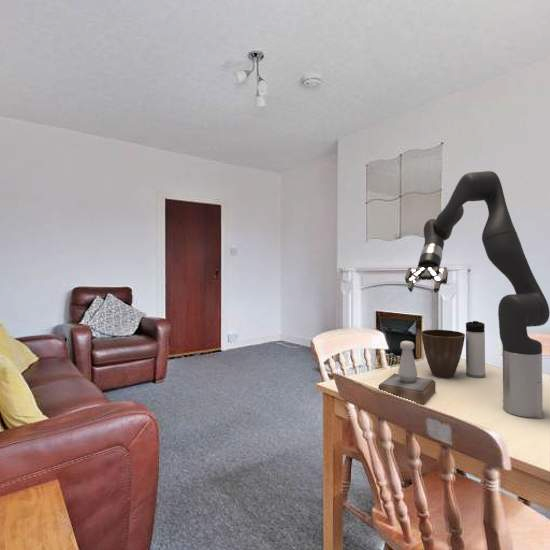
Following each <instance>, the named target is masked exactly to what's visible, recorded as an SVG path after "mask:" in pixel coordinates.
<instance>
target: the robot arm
mask: <svg viewBox="0 0 550 550" xmlns="http://www.w3.org/2000/svg"><path fill="white" fill-rule="evenodd" d="M482 201H484V202H485V204H486V206H487V209H488V210H487V211H488V216H487V219H486V223H485V225H484V228H483V231H482V234H481V240H482V244H483V247H484V248H483V249H484V250H485V253H486V256H487V258H488V260H489V261H490V262H491V263H492V265H494V267H496V269H497V270H498V271H499V272H500V273H502V274H503V275H504V276H505V278H507V279H508V281H509V282H510V283H511V286H512V287H513V289H514V292H515V294H514V293H513V294H506V295H504V296H503V297H502V298H501V299H500V301H499V303H498V313H497V316H498V329H499V338H500V341H501V345H502V409H503V410H504V411H505V412H507V413H508V414H511V415H514V416H519V417H522V418H524V417H525V418H538V419H543V412H544V411H543V410H544V409H543V345H542V342H540V341H539V340H537V339H534V338H531V337H530V336H529V334H528V329H527V328H530V327H531V328H532V327H541V326H544V325H545V324H547V322H548V321H549V319H550V307H549V304H548V301H547V299H546V296H545V294H544V293H543V291H542V289H541V287H540V285H539V283H538V282H537V280H536V277H535V275H534V274H533V272H532V269H531V267H530V265H529V262H528V259H527V257H526V254H525V252H524V250H523V246H522V242H521V239H520V237H519V235H518V233H517V231H516V229H515V226H514V223H513V221H512V218H511V215H510V212H509V209H508V206H507V202H506V198H505V194H504V189H503V186H502V182H501V179H500V178H499V176H498V174H497V173H496V172H494V171H491V170H484V171H474V172H468V173H465V174H464V175H462V176H461V178H460V179H459V180H458V183H457V184H456V185H455V188H454V190H453V192H452V195H451V196H450V198H449V200H448V202H447V204H446V206H444V208H443V209H442V211H440V213H439V214H438V215H437V216H436V219H435V218H431V219H429V220H427V221H426V222H425V224H424V225H423V236H424V237H423V238H424V245H423V247H422V250H421V252H420V256H419V261H418V264H417V267H416V269H413V268H412V267H408V269H407V272H406V274H405V276H404V280H405V281H404V282H405V283H406V284H407V290H408V291H409V292H410V293H412V292H413V291H414V286H415V284H416V283H418V282H420V281H421V280H422V281H432V280H433V281H434V286H433V291H434V293H438V292H439V291H440V288H441V285H442V284H443V285H446V284H447V283H448V275H449V272H448V271H449V270H448V268H447V266H445V267H443V268H440V267H441V264H442V263H441V262H442V261H443V260H442V259H443V250H444V246H445V241H447V240H449V238H450V237H451V235H452V233H453V228H454V227H455V226H456V225H457V224H458V222H459V221H460V220H462V218H463V215H464V212H465V210H464V206H463V205H464V204H466V203H467V202H482ZM440 274H441V278H440V277H439V275H440Z"/></svg>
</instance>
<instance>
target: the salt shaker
mask: <svg viewBox="0 0 550 550" xmlns="http://www.w3.org/2000/svg"><path fill="white" fill-rule="evenodd" d="M399 345H400V349H401V350H402V351H401V357H400V362H399V368H398V372H397V374H399V377H400V379H401V381H402V382H405V383H413V382H415V379H416V377H418V372H417V366H416V361H415V356H414V352H413V350H414V349H415V343H414V342H413V341H410V340H403V341H401V342H400V344H399Z"/></svg>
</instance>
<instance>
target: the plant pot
mask: <svg viewBox="0 0 550 550" xmlns="http://www.w3.org/2000/svg"><path fill="white" fill-rule="evenodd" d="M420 333H421V339H422V345H423V350H424V354H425V357H426V360H427V361H426V362H427V364H428V367H429V370H430V373H431V375H432V376H433V377H437V378H441V379H442V378H443V379H450V378H453V377H454V376H455V375H456V374H455V373H456V372H457V368H458V366H459V363H460V359H461V357H462V354H463V353H462V352H463V349H464V344H465V339H466V333H463V332H461V331H460V332H459V331H456V330H449V329H448V330H447V329H426V330H422V331H421V332H420Z"/></svg>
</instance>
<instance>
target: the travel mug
mask: <svg viewBox="0 0 550 550" xmlns="http://www.w3.org/2000/svg"><path fill="white" fill-rule="evenodd" d="M485 326H486V325H485V323H483V322H481V321H477V320H473V321H467V322H466V323H465V374H466V375H467V376H468V377H469V378H470V377H471V378H474V377H476V379H481V378H485V377H486V333H485V329H486V327H485Z"/></svg>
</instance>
